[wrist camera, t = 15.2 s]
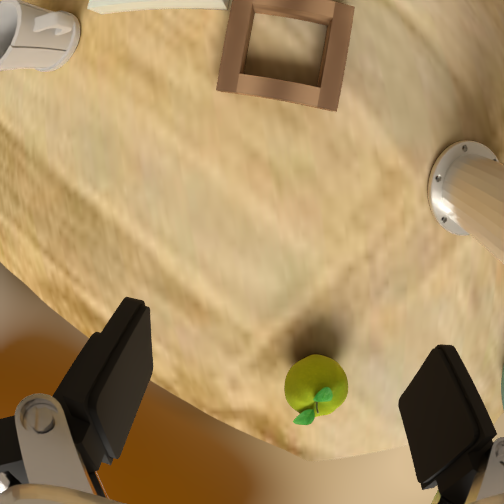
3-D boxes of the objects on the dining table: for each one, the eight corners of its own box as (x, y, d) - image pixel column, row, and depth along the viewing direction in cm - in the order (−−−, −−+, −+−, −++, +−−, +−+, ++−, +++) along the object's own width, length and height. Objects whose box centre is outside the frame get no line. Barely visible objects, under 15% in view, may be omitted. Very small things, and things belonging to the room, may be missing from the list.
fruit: (274, 371, 48) (272, 421, 40) (305, 334, 45) (309, 386, 36) (320, 387, 50) (324, 435, 41) (353, 354, 46) (365, 403, 37)
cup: (75, -8, 25) (18, -28, 14) (102, 30, 28) (43, 13, 17) (26, 46, 28) (-34, 44, 17) (49, 85, 31) (-14, 90, 20)
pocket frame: (347, 15, 26) (354, 6, 23) (330, 111, 31) (336, 111, 28) (239, -4, 26) (235, -15, 23) (221, 91, 31) (216, 90, 28)
